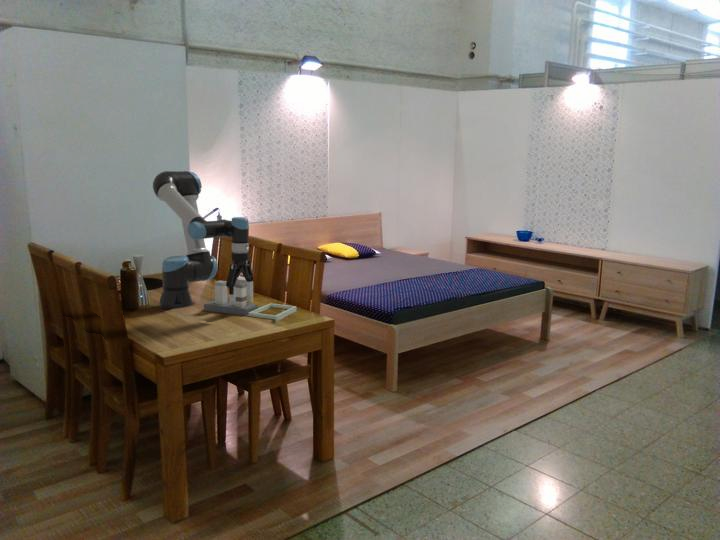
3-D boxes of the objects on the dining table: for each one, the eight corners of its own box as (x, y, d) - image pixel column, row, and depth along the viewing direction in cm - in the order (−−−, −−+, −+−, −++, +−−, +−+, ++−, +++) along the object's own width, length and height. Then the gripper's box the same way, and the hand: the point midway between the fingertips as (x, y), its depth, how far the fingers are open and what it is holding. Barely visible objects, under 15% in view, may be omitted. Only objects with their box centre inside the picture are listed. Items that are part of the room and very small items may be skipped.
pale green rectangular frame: (248, 318, 270) (248, 312, 269) (269, 308, 288) (269, 303, 288) (276, 321, 265) (276, 316, 265) (296, 311, 284) (296, 306, 283)
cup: (241, 304, 294) (241, 280, 292) (233, 301, 300) (233, 277, 298) (256, 302, 299) (256, 278, 297) (247, 299, 305) (247, 276, 303)
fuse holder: (204, 312, 277) (203, 303, 276) (216, 307, 286) (216, 299, 286) (246, 317, 270) (246, 309, 269) (257, 312, 279) (257, 304, 279)
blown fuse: (233, 312, 275) (233, 284, 273) (238, 310, 279) (238, 282, 277) (242, 313, 274) (242, 285, 272) (246, 311, 278) (246, 283, 275)
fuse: (214, 309, 278) (214, 282, 276) (219, 307, 282) (219, 280, 280) (222, 310, 277) (222, 282, 275) (227, 308, 281) (227, 281, 279)
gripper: (232, 256, 259) (233, 304, 263) (261, 249, 282) (261, 293, 286) (217, 255, 261) (217, 303, 265) (247, 248, 284) (247, 292, 288)
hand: (240, 298), depth 275 cm, fingers open, 13 cm apart
